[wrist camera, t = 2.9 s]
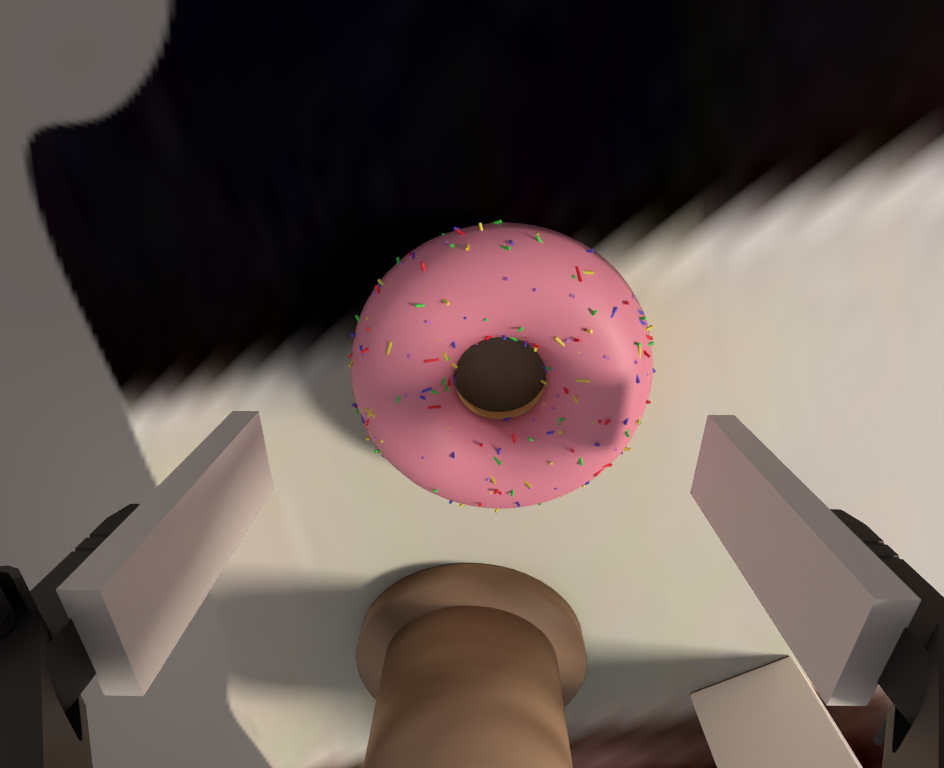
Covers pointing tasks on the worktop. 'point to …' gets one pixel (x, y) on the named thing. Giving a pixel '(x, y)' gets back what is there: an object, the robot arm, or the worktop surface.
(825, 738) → the milk
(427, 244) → the doughnut
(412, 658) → the brown flanged cylinder
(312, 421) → the worktop surface
